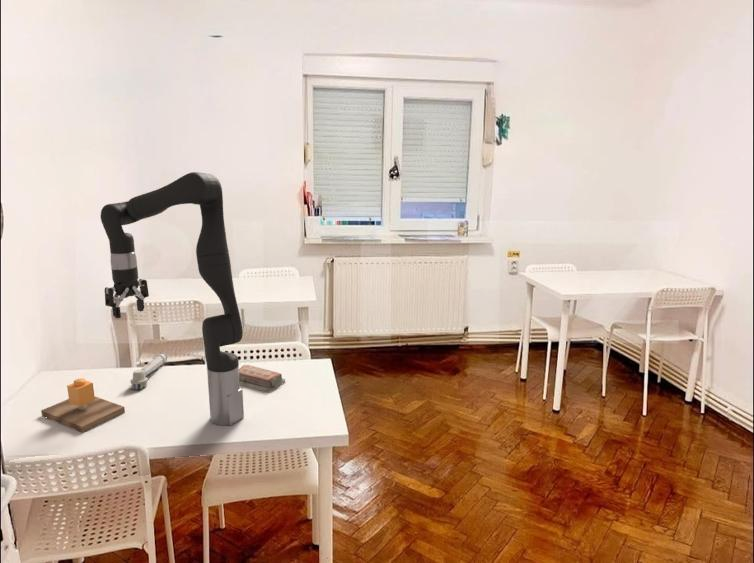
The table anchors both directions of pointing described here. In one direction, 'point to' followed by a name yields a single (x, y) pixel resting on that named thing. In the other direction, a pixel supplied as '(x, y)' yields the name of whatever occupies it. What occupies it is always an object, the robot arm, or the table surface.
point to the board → (83, 414)
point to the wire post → (83, 407)
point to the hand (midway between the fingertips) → (129, 314)
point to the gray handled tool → (147, 371)
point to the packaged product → (259, 378)
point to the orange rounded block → (80, 392)
